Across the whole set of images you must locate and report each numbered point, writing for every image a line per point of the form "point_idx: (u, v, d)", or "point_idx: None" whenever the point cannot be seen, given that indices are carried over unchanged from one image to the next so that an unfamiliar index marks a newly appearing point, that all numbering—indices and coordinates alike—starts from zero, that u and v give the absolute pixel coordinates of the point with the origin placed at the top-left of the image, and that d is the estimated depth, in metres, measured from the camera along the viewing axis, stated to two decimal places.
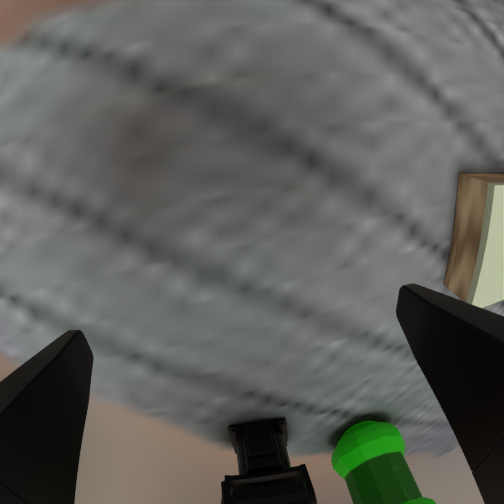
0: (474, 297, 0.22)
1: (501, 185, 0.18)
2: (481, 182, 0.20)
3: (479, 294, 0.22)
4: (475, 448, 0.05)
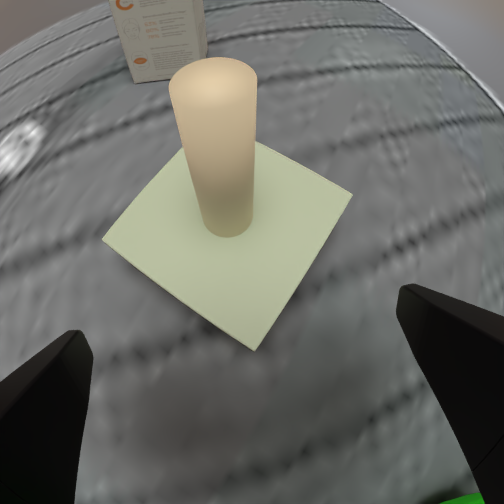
0: (232, 333, 0.16)
1: (112, 227, 0.19)
2: None
3: (235, 322, 0.17)
4: (475, 449, 0.05)
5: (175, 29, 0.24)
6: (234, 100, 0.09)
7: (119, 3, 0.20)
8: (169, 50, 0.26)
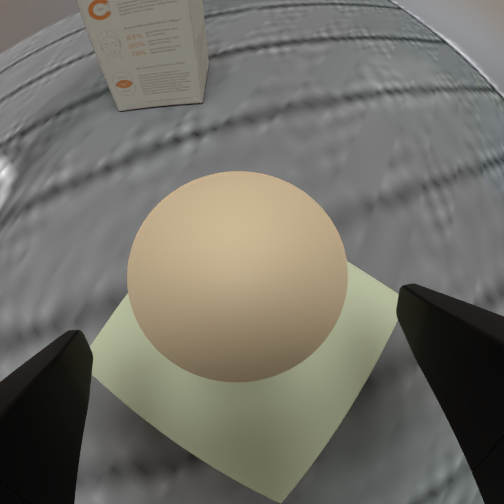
0: (254, 487, 0.11)
1: (91, 346, 0.13)
2: None
3: (258, 476, 0.11)
4: (475, 448, 0.05)
5: (167, 44, 0.19)
6: (297, 351, 0.04)
7: (93, 11, 0.15)
8: (160, 70, 0.21)
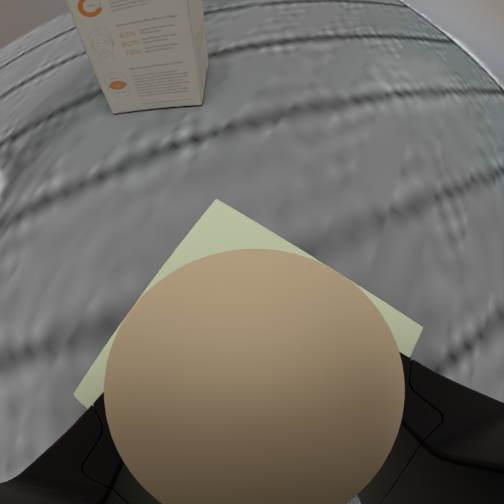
0: None
1: (84, 379, 0.12)
2: None
3: None
4: (370, 496, 0.05)
5: (163, 42, 0.17)
6: (334, 499, 0.02)
7: (83, 7, 0.13)
8: (156, 71, 0.19)
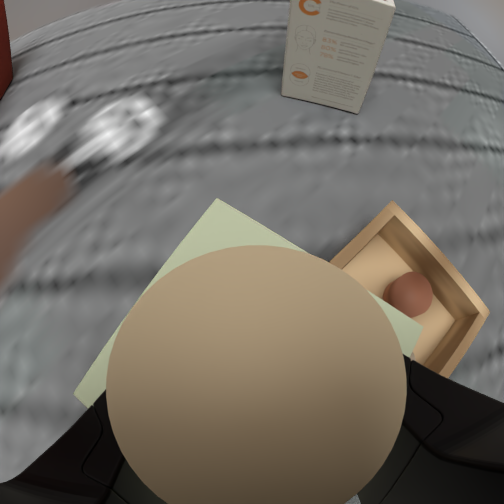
0: None
1: (85, 378, 0.12)
2: None
3: None
4: (370, 496, 0.05)
5: (354, 58, 0.22)
6: (336, 496, 0.02)
7: (303, 4, 0.18)
8: (337, 76, 0.24)
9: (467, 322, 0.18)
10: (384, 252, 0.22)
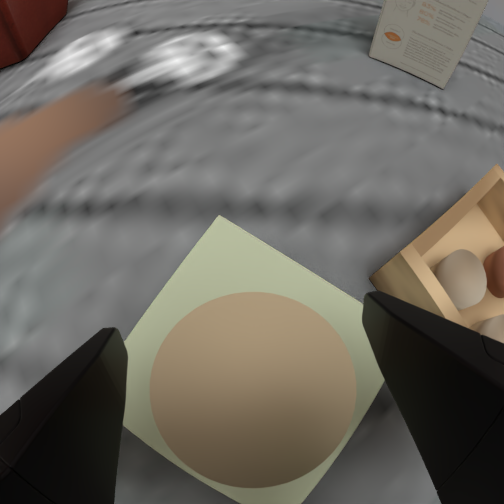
0: None
1: None
2: (392, 259, 0.14)
3: (262, 500, 0.11)
4: (440, 468, 0.05)
5: (449, 28, 0.17)
6: (307, 465, 0.04)
7: None
8: (430, 44, 0.19)
9: None
10: (482, 222, 0.17)
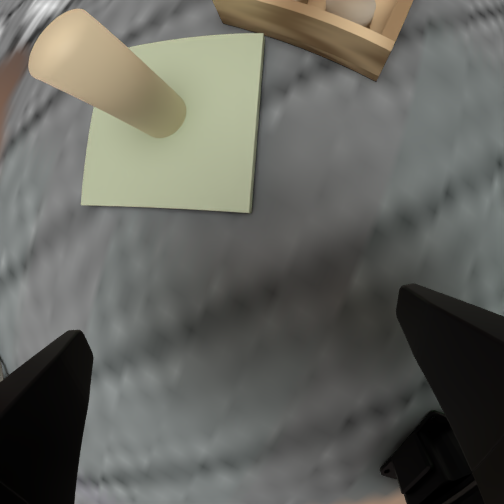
0: (222, 208, 0.17)
1: (83, 189, 0.19)
2: None
3: (219, 197, 0.17)
4: (475, 448, 0.05)
5: None
6: (78, 44, 0.07)
7: None
8: None
9: None
10: None
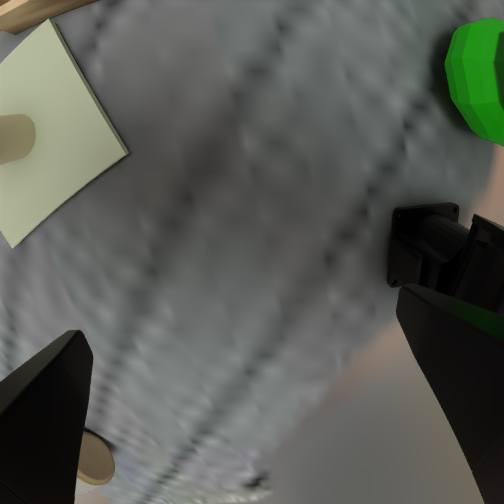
0: (105, 166, 0.17)
1: (5, 236, 0.18)
2: None
3: (98, 160, 0.17)
4: (475, 449, 0.05)
5: None
6: None
7: None
8: None
9: None
10: None
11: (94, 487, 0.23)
